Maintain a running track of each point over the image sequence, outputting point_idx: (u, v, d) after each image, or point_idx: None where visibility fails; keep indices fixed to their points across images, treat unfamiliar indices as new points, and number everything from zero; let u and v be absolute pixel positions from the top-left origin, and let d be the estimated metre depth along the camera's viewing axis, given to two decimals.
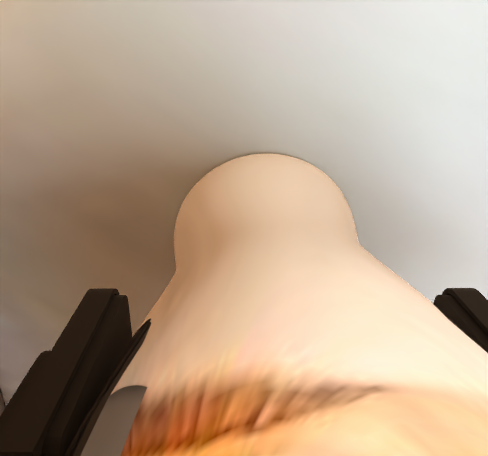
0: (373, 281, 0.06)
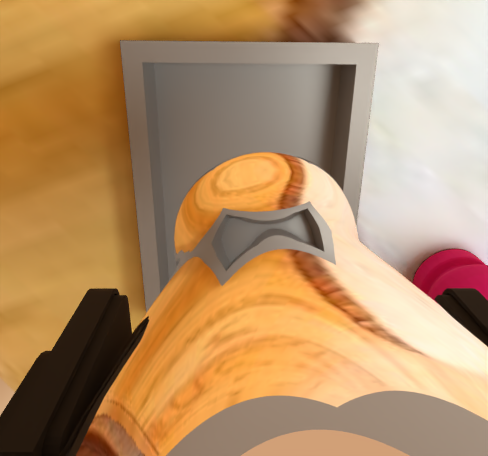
0: (374, 277, 0.06)
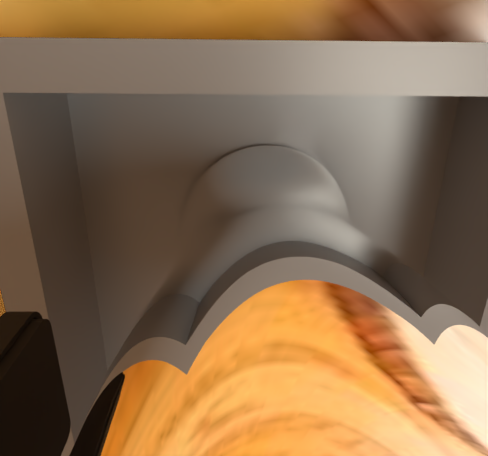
0: (353, 241, 0.07)
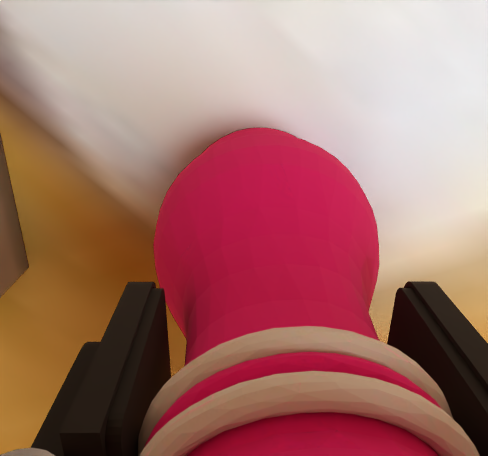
0: None
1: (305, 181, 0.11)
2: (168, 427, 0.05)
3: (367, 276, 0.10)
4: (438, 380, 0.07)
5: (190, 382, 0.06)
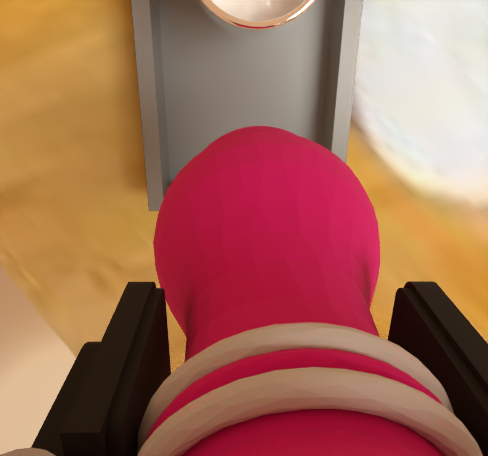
0: None
1: (306, 179, 0.11)
2: (167, 424, 0.05)
3: (368, 274, 0.10)
4: (438, 380, 0.07)
5: (190, 379, 0.06)
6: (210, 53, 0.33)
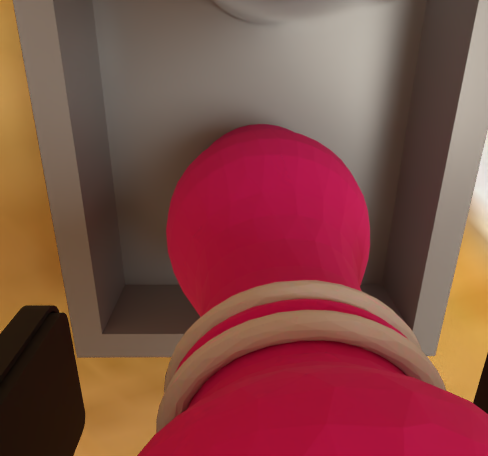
0: None
1: (302, 170, 0.12)
2: (193, 356, 0.07)
3: (358, 252, 0.12)
4: None
5: (209, 325, 0.07)
6: (192, 63, 0.17)
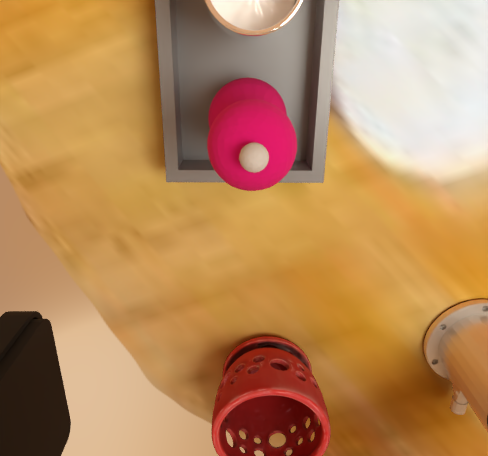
0: None
1: (258, 88, 0.36)
2: None
3: None
4: None
5: None
6: (217, 53, 0.41)
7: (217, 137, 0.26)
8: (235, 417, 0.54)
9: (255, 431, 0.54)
